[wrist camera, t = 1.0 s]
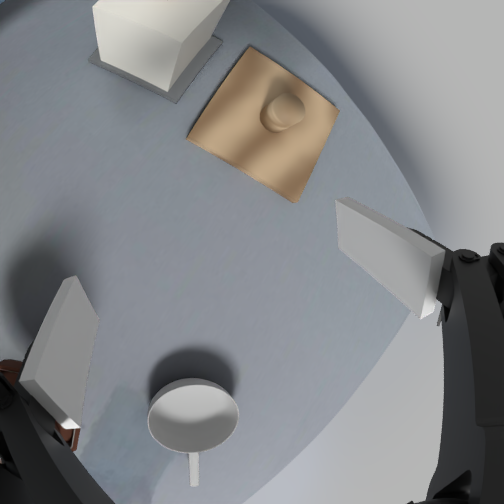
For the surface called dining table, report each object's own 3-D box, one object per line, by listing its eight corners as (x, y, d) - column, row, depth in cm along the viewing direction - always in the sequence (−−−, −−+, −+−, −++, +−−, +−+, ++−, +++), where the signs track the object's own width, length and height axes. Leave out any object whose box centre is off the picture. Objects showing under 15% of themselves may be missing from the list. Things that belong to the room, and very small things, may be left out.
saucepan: (233, 368, 34) (244, 383, 30) (224, 465, 35) (232, 482, 32) (143, 369, 30) (145, 387, 26) (152, 470, 31) (156, 489, 28)
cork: (254, 121, 30) (269, 110, 26) (267, 99, 30) (283, 86, 26) (279, 138, 31) (297, 129, 27) (291, 116, 31) (309, 105, 28)
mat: (88, 61, 23) (87, 59, 23) (140, 6, 24) (140, 3, 23) (176, 103, 28) (176, 101, 27) (221, 43, 28) (222, 41, 28)
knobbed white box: (100, 60, 23) (91, -4, 13) (148, 9, 24) (160, -56, 13) (167, 92, 27) (185, 33, 16) (210, 38, 27) (243, -22, 17)
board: (186, 139, 29) (187, 136, 27) (246, 51, 29) (249, 46, 28) (292, 202, 34) (297, 202, 33) (334, 113, 35) (339, 110, 34)
